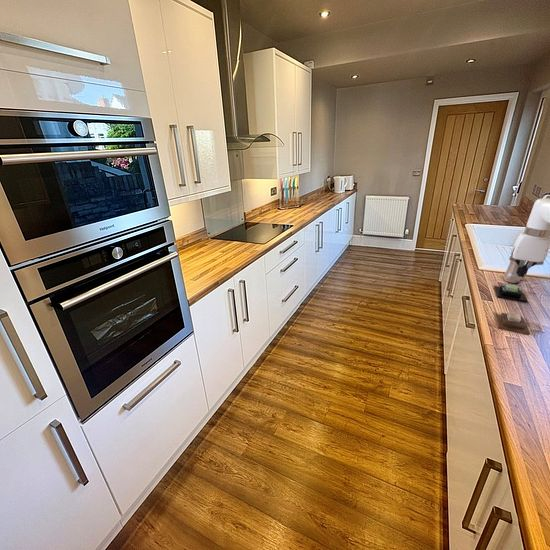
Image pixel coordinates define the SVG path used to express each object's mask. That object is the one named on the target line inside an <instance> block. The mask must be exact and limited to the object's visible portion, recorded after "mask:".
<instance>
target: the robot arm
mask: <svg viewBox="0 0 550 550" xmlns="http://www.w3.org/2000/svg"><path fill="white" fill-rule="evenodd" d="M549 249H550V198H545V197H544V198H538V199H536V200H535V201H534V203H533V205H532V209H531V212H530V213H529V217H528V220H527V223H526V226H525V228H524V230H523V232H521V233H520V234H519V235H518V236H517V238H516V240H515V242H514V245H513V246H512V249H511V251H510V256H509V258H508V260H509V262H510V261H513V262H516V263H517V264H518V268H517V271H516V274H517V275H518V277H521V278H524V277H525V276H526V275H527V274H528V271H529V269H531V268H532V267H535V266H543V265H544V264H545V263H544V262H545V260H546V258H547V256H548V252H549ZM524 260H525V261H526V263H525V265H524V266H523V264H524Z"/></svg>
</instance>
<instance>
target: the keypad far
mask: <svg viewBox="0 0 550 550" xmlns="http://www.w3.org/2000/svg"><path fill="white" fill-rule="evenodd" d="M505 287H506V284H505V285H504V284H500V286H498V285H494V286H493V291H494V294H495V296H496V298H497V299H501V300H507V301H511V302H512V301H513V302H518V303H523V304H526V302H527V299H526V297H525V295H524V293H523V291H522V290H521V289H520V288H519V287H517V288H518V291H517V292H512V291H506V288H505Z"/></svg>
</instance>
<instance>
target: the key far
mask: <svg viewBox="0 0 550 550" xmlns="http://www.w3.org/2000/svg"><path fill="white" fill-rule="evenodd" d="M505 286H506V287H505V288H506V291H512V292H517V291H518V288H519V287H518V286H517V285H513V284H508V283H507V284H505Z"/></svg>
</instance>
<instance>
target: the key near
mask: <svg viewBox="0 0 550 550" xmlns="http://www.w3.org/2000/svg"><path fill="white" fill-rule="evenodd" d="M506 314H507V318H508V320H509V321H513V322H518V323H520V321H521V318H520V314H517V313H513V312H507V313H506Z"/></svg>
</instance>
